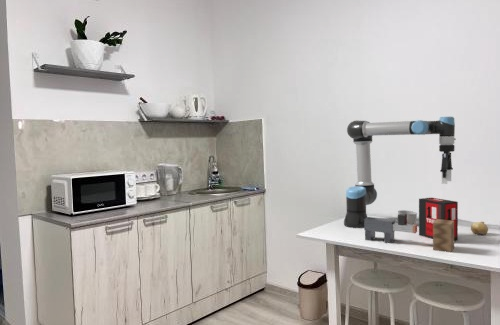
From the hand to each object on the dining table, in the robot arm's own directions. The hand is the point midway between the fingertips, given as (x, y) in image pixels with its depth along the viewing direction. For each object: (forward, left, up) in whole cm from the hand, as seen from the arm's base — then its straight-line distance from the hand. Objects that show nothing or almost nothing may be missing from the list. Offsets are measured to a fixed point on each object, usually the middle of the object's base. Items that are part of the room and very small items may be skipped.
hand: (446, 182), depth 210 cm
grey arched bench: (-25, -38, -28) cm, 53 cm away
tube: (-18, -38, -21) cm, 47 cm away
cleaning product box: (-1, -18, -28) cm, 33 cm away
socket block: (+5, -38, -28) cm, 47 cm away
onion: (+16, +1, -28) cm, 32 cm away
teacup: (-23, +4, -28) cm, 36 cm away
